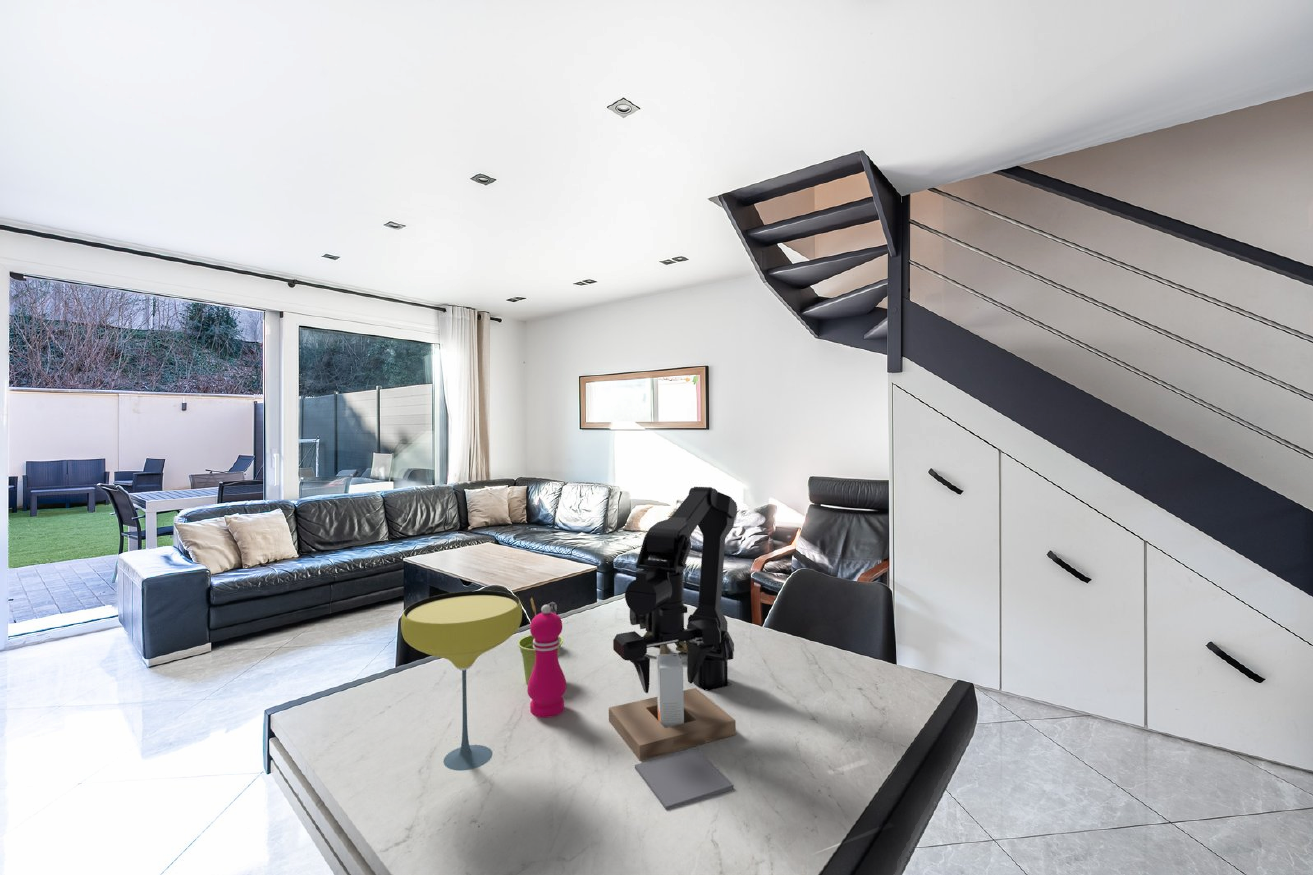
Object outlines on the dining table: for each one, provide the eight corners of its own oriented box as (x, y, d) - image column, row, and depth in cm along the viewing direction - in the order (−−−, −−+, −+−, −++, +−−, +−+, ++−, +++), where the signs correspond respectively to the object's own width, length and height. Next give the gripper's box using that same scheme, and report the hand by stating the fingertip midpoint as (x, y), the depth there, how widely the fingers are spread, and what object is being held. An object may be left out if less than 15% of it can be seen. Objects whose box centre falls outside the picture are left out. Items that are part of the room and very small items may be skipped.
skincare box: (656, 720, 103) (656, 654, 103) (680, 718, 103) (679, 653, 103) (660, 738, 97) (659, 667, 97) (684, 736, 97) (684, 666, 97)
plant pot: (568, 673, 124) (568, 633, 124) (556, 692, 114) (556, 649, 114) (526, 672, 125) (526, 632, 125) (511, 691, 115) (511, 648, 115)
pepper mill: (558, 722, 103) (557, 611, 102) (521, 718, 104) (519, 609, 104) (572, 703, 110) (570, 600, 110) (537, 700, 111) (535, 598, 111)
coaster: (696, 751, 93) (696, 747, 93) (733, 789, 83) (733, 784, 83) (634, 768, 88) (634, 764, 88) (665, 811, 78) (665, 806, 78)
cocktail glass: (455, 814, 78) (453, 632, 78) (378, 774, 87) (376, 612, 87) (547, 751, 93) (545, 599, 93) (472, 723, 103) (471, 585, 102)
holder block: (695, 700, 110) (695, 687, 110) (735, 734, 97) (735, 720, 97) (608, 721, 102) (608, 707, 102) (639, 761, 90) (639, 745, 90)
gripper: (692, 582, 111) (692, 661, 111) (601, 594, 103) (602, 680, 103) (722, 596, 101) (723, 683, 101) (624, 611, 93) (625, 706, 93)
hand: (668, 687), depth 100 cm, fingers open, 8 cm apart
